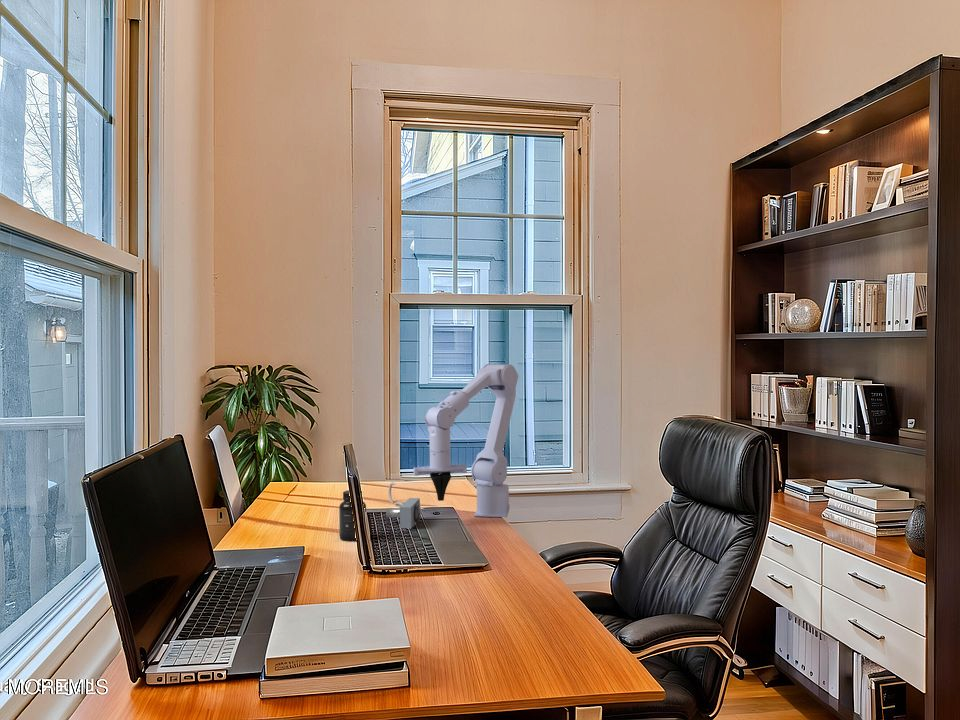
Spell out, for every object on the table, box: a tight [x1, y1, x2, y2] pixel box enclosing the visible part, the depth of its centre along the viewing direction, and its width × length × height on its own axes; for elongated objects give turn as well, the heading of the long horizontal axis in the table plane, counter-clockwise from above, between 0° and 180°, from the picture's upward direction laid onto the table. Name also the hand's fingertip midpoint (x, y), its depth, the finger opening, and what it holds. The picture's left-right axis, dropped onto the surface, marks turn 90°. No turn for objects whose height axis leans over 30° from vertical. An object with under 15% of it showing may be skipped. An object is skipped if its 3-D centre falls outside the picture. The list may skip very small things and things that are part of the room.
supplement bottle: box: [338, 489, 367, 542], centre depth 188 cm, size 7×7×12 cm
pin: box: [385, 504, 422, 523], centre depth 203 cm, size 9×5×5 cm, turn 83°
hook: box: [388, 482, 425, 510], centre depth 224 cm, size 7×9×20 cm
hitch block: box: [399, 497, 421, 530], centre depth 203 cm, size 3×12×6 cm, turn 173°
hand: (440, 500), depth 202 cm, fingers closed
